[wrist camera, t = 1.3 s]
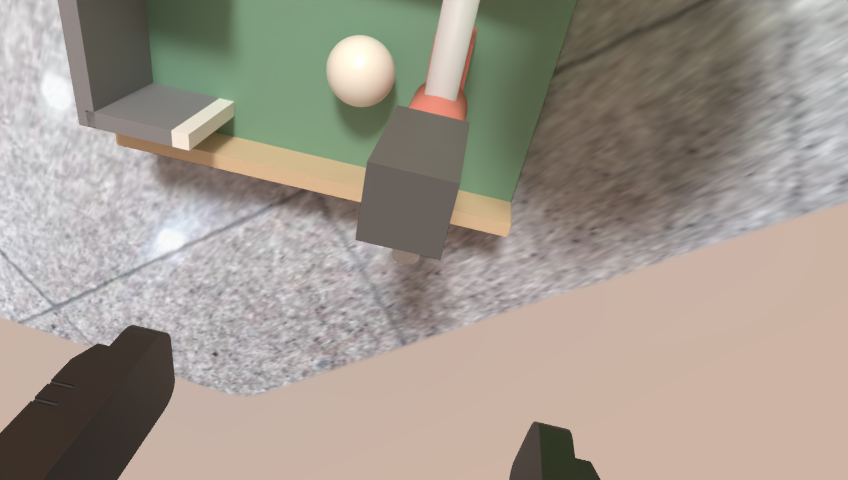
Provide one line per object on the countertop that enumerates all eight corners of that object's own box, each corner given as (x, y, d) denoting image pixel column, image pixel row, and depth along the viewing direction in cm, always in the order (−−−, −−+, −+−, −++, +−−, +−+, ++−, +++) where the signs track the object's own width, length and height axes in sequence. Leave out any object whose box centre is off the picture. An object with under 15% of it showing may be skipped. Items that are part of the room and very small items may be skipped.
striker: (512, -70, 27) (520, -47, 14) (443, 208, 37) (407, 385, 23) (452, -84, 27) (401, -75, 14) (398, 197, 37) (336, 368, 23)
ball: (405, 37, 31) (393, 53, 28) (394, 101, 33) (382, 123, 30) (340, 21, 31) (320, 35, 28) (333, 87, 33) (314, 107, 30)
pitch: (588, -42, 29) (609, -28, 23) (506, 207, 37) (506, 263, 32) (125, -151, 29) (28, -165, 23) (151, 123, 38) (86, 163, 32)
